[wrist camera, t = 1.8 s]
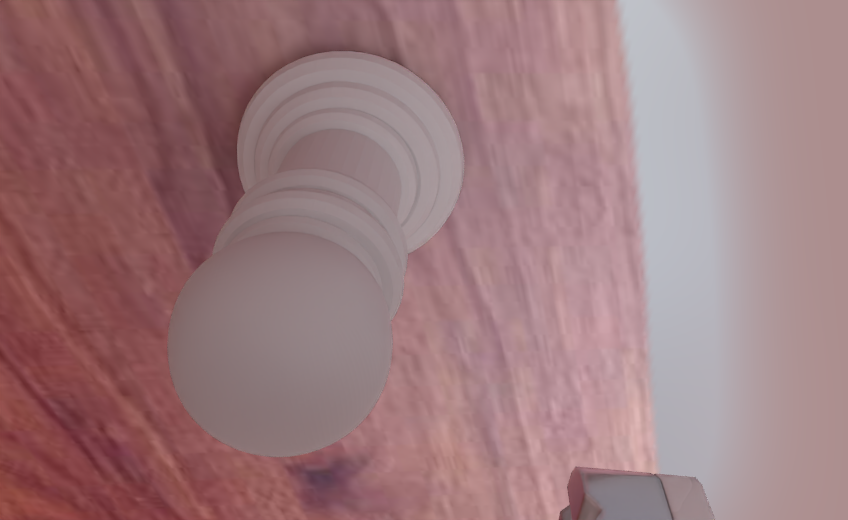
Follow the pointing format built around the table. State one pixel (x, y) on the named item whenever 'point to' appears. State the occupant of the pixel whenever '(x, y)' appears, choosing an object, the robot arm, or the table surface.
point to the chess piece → (314, 253)
